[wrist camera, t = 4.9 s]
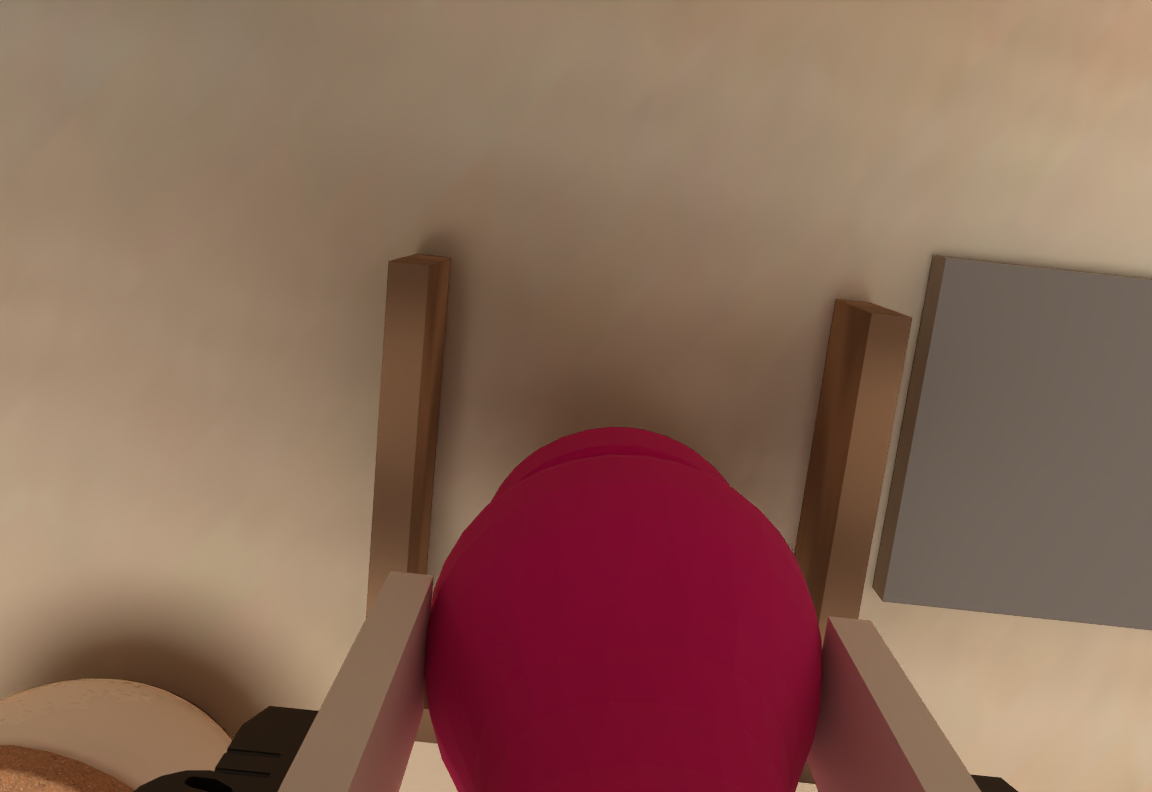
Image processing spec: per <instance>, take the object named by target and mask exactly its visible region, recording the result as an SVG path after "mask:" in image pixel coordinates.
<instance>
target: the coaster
mask: <svg viewBox="0 0 1152 792" xmlns="http://www.w3.org/2000/svg"><path fill="white" fill-rule="evenodd" d="M873 589H874V590H875V591H876V593H877V594H878V596H879V597H880V598H881V600H882V601H884V602H893V603H903V604H912V605H921V606H930V607H940V608H949V609H958V610H968V611H977V612H986V613H996V614H1005V615H1014V616H1024V617H1033V618H1042V619H1052V620H1061V621H1070V622H1080V623H1089V624H1098V625H1108V626H1117V627H1126V628H1136V629H1145V630H1152V279H1146V278H1136V277H1127V276H1118V275H1109V274H1099V273H1090V272H1081V271H1071V270H1062V269H1053V268H1044V267H1034V266H1025V265H1016V264H1006V263H997V262H988V261H979V260H969V259H960V258H951V257H941V256H933V259H932V264H931V270H930V275H929V281H928V286H927V292H926V297H925V303H924V308H923V314H922V319H921V325H920V330H919V336H918V341H917V347H916V352H915V358H914V363H913V369H912V374H911V380H910V385H909V391H908V396H907V402H906V407H905V412H904V418H903V423H902V429H901V434H900V440H899V445H898V451H897V456H896V462H895V467H894V473H893V478H892V484H891V489H890V495H889V500H888V506H887V511H886V517H885V522H884V528H883V533H882V539H881V544H880V550H879V555H878V561H877V566H876V572H875V577H874V583H873Z"/></svg>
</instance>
